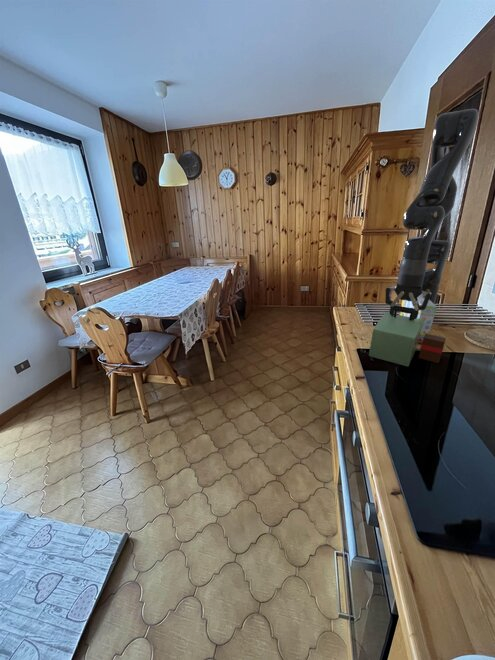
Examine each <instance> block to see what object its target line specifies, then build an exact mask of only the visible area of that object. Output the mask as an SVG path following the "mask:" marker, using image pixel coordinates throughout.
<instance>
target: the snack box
mask: <svg viewBox="0 0 495 660" xmlns="http://www.w3.org/2000/svg"><path fill="white" fill-rule="evenodd" d="M417 298H418V302H419V305H422V304H423V302H424V299H425V298H423V295H422V294H421V295H420V296H418V297H417ZM400 306H402V307H408V308H414V306H413V305H412V302H410V301H407V300H401V305H400ZM437 308H438V306H437V305H436V303H435V304H434V303H433V302H431V301H430V300H429V301H428V304H427V306H426V308H425V310H419V313H418V317H417V318H418V319H423V320H424V321H423V325H422V329H421V333H420V337H419V341H418V344H422V342H423V338H424V336H425V334H430V333H431V329H432V326H433V322H434V320H435V316H436V313H437V310H438V309H437ZM398 313H399V314H398V315H401V316H407V317H410V314H409V313H403V312H398Z"/></svg>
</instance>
